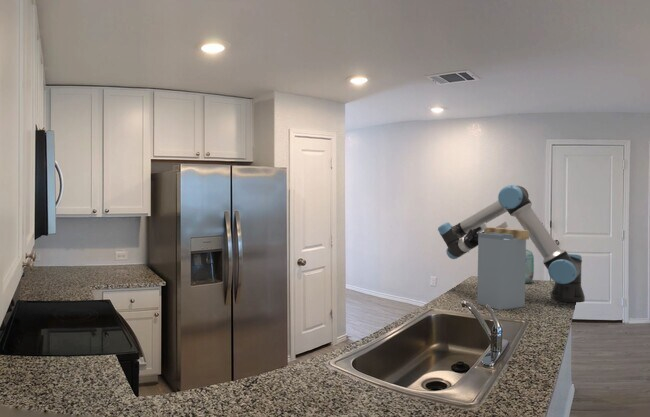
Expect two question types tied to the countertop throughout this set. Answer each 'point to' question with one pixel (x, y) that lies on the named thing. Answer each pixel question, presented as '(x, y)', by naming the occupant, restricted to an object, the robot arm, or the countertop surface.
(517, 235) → the oak block
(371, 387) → the countertop surface
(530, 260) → the lunch box
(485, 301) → the stand
